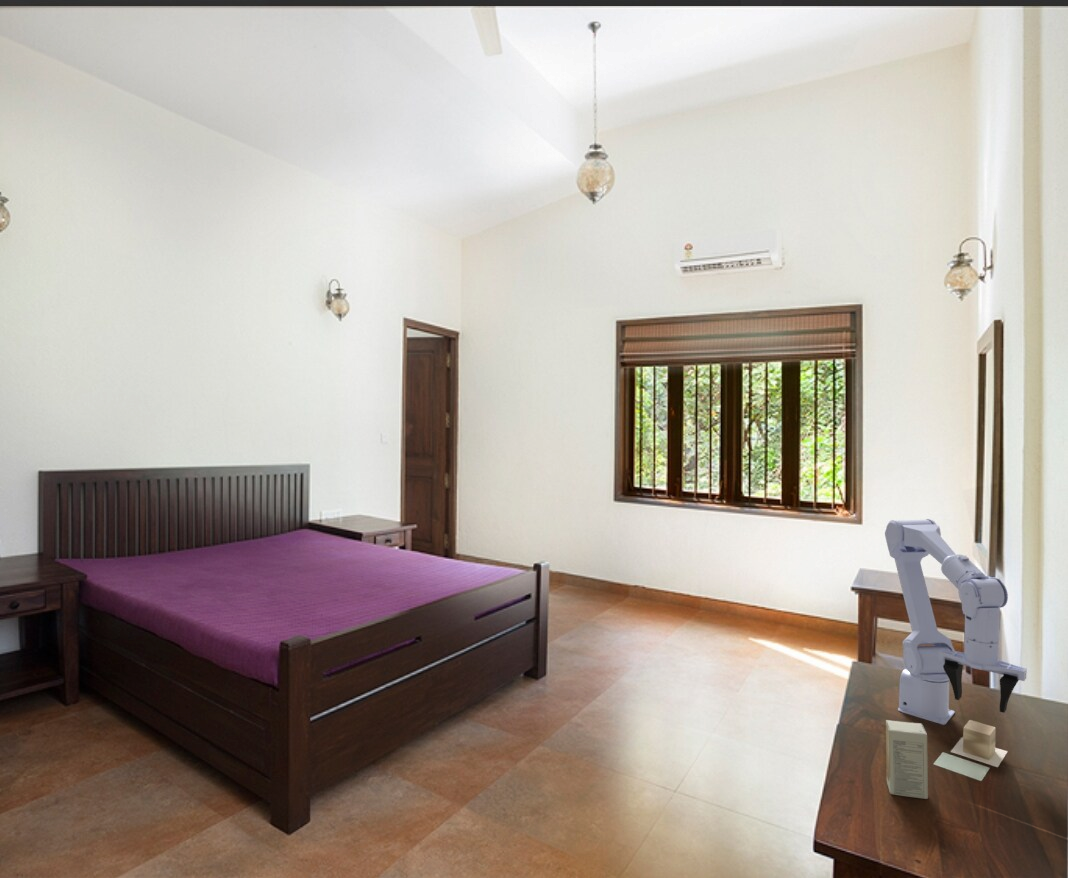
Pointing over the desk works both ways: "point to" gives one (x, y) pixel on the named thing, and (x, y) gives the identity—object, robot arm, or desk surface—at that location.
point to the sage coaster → (961, 766)
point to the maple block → (979, 739)
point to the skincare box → (906, 759)
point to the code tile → (993, 761)
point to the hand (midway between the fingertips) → (980, 704)
